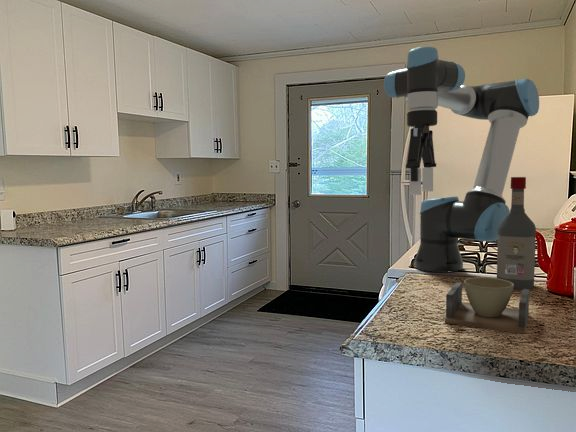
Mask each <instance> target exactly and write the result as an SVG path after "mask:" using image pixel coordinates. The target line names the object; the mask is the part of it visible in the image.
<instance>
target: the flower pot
mask: <svg viewBox="0 0 576 432" xmlns="http://www.w3.org/2000/svg"><path fill="white" fill-rule="evenodd" d="M463 282H464V290H465V294H466V297H467V299H468V303H470V304H471V306H472V308H473V310H474V311H475V313H476V314H477V315H480V316H484V317H499V316H500V315H501V314H502V312H503V311H504V310H505V308H506V307H507V306H508V305H509V302H510V300H511V298H512V294H513V293H514V292H513V290H514V289H513V288H514V284H513V283H512V282H509V281H507V280H503V279H497V277H482V276H481V277H479V276H478V277H469V278H466V279H464V281H463Z"/></svg>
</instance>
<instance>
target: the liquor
mask: <svg viewBox="0 0 576 432" xmlns="http://www.w3.org/2000/svg"><path fill="white" fill-rule="evenodd" d="M526 182H527V177H526V176H511V177H510V189H511V203H510V204H511V206H510V208H509V211H510V213H509V214H508V216H507V217H506V218H505V219H504V220H503V221H502V222H501V224H500V225H499V228H498V240H497V247H496V248H497V251H496V254H497V256H496V278H497V279H503V280H507V281H509V282H512V283H513V284H514V288H513V290H516V291H523V289H529V291H530V290H533V288H534V285H535V269H536V267H535V265H536V263H535V262H536V236H537V235H536V233H537V228H536V227H537V226H536V225H535V223H534V221H532V219H531V218H530V217H529V216H528V215H527V213H526V211H525V189H527V183H526Z"/></svg>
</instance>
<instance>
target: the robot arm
mask: <svg viewBox="0 0 576 432" xmlns="http://www.w3.org/2000/svg"><path fill="white" fill-rule="evenodd" d="M406 59H407V62H406V68H403V69H396V70H395V71H391V72H389V73H387V74H386V75H385V76H384V80H383V90H384V93H385V95H387V97H389V98H396V99H398V98H399V99H400V98H405V100H404V102H405V103H406V104H407V107H406V109H407V110H408V112H407V113H406V126H407V127H410V139H409V144H408V145H409V146H408V152H407V159H406V161H407V162H406V164H405V169H408V170H409V174H408V175H409V180H408V181H409V192H408V194H409V195H411V196H412V195H413V196H414V195H415V196H416V195H417V196H421V195H422V192H434V168H436V167H437V163H436V159H435V149H434V141H433V135H434V133H433V130H430V127H434V126H437V124H438V111H437V110H436V109H438V107H441V108H444V109H448V110H450V111H451V112H452V113H454V114H456V115H459V116H463V117H466V118H470V119H474V120H475V119H476V120H483V121H484V120H487V121H488V122H489V123H490V126H489V129H488V133H487V137H486V141H485V144H484V147H483V151H482V154H481V159H480V162H479V165H478V169H477V172H476V176H475V179H474V184H473V187H472V189H471V190H469V191H467V192H466V193H465V197H464V199H463V201H462V200H461V201H460V199H459V196H456V195H455V196H450V197H449V196H448V197H438V198H428V199H424V200H422V202H421V204H420V212H419V215H420V217H419V218H420V222H419V223H420V233H419V234H420V235H419V236H420V241H419V243H420V245H419V247H418V250H417V253H416V256H415V259H414V268H415V267H416V268H415V269H418V270H420V269H421V270H420V271H424V270H426V271H425V272H430V271H432V272H431V273H449V272H448V271H456V272H458V271H457V270H460V271H462V270H463V269H464V262H463V258H462V255H461V252H460V249H459V245H458V244H459V243H458V242H459V241H458V239H461V240H462V239H463V240H470V241H477V242H497V241H498V228H499V225H500V224H501V222H502V221H503V220H504V219H505V218H506V217H507V216H508V214H509V213H510V208H509V206H508V205H507V204H506V199H505V198H504V197H503V193H504V189H505V185H506V181H507V180H508V179H507V178H508V174H509V170H510V168H511V163H512V160H513V156H514V151H515V149H516V148H515V147H516V145H517V141H518V136H519V134H520V129H522V128H524V127H525V126H526V125H527V123H528V120H529V117H533V116H536V115H537V114H538V113H539V109H540V95H539V91H538V88H537V85H536V84H535V82H534V81H533V80H531V79H530V78H521V79H518V78H516V79H515V80H509V81H502V82H494V83H486V84H482V85H473V86H472V85H471V86H470V85H466V84H464V82H465V78H466V71H465V69H464V68H463V66H462V65H461V64H459V63H456V62H455V61H448V60H442V59H439V53H438V49H437V48H436V47H433V46H419V47H415V48H412V49H411V50H409V51H408V53H407V58H406ZM421 163H422V164H423V165H422V166H423V167H422V168H421ZM462 268H463V269H462ZM461 269H462V270H461Z"/></svg>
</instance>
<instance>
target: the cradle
mask: <svg viewBox="0 0 576 432" xmlns="http://www.w3.org/2000/svg"><path fill="white" fill-rule="evenodd" d="M521 291H522V292H521V296H520V299H519V302H518V308H515V307H507V306H506V308H505V310H504V311H503V312H502V314H501V315H500V316H499V317H484V316H480V315H477V314H476V313H475V311H474V310H473V308H472V306H471V304H470V302H463V283H462V282H455V284H454V285H453V286H452V287H451V288H450V289H449V291H448V292H447V293H446V297H445V299H446V301H445V302H446V303H445V319H444V324H451V325H459V326H466V327H472V328H479V329H486V330H494V331H499V332H501V331H502V332H509V333H515V334H520V335H521V334H522V335H523V334H524V335H525V334H526V329H527V325H528V319H529V313H530V312H529V311H530V309H529V306H530V290H529V289H523V290H521Z"/></svg>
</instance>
